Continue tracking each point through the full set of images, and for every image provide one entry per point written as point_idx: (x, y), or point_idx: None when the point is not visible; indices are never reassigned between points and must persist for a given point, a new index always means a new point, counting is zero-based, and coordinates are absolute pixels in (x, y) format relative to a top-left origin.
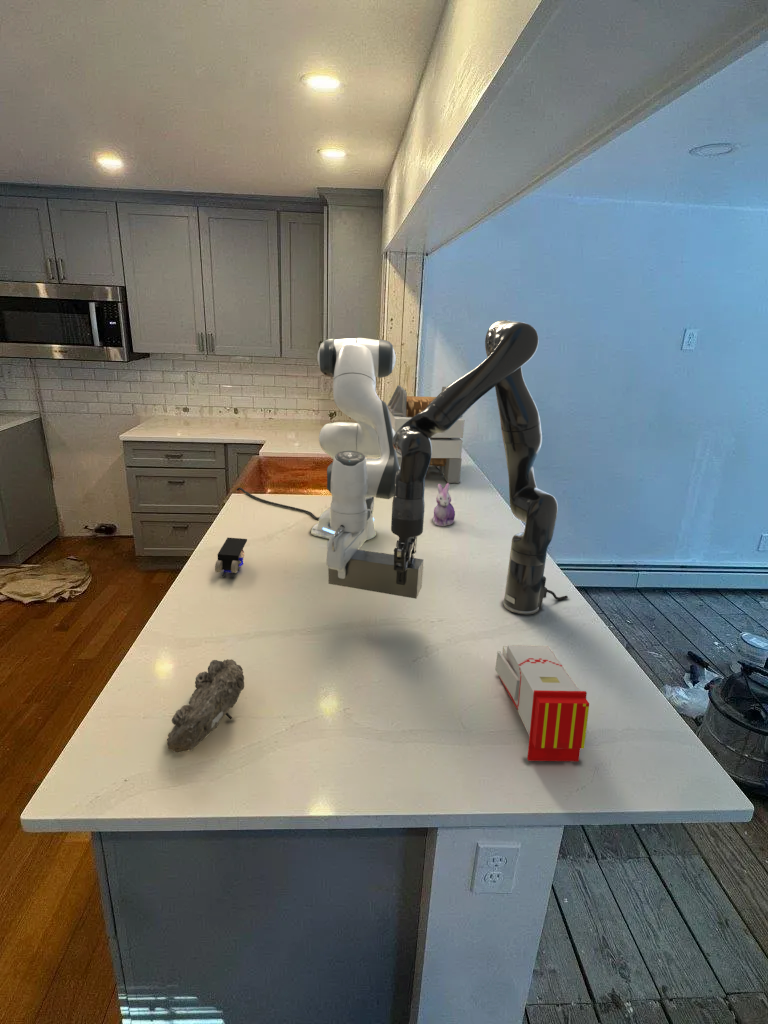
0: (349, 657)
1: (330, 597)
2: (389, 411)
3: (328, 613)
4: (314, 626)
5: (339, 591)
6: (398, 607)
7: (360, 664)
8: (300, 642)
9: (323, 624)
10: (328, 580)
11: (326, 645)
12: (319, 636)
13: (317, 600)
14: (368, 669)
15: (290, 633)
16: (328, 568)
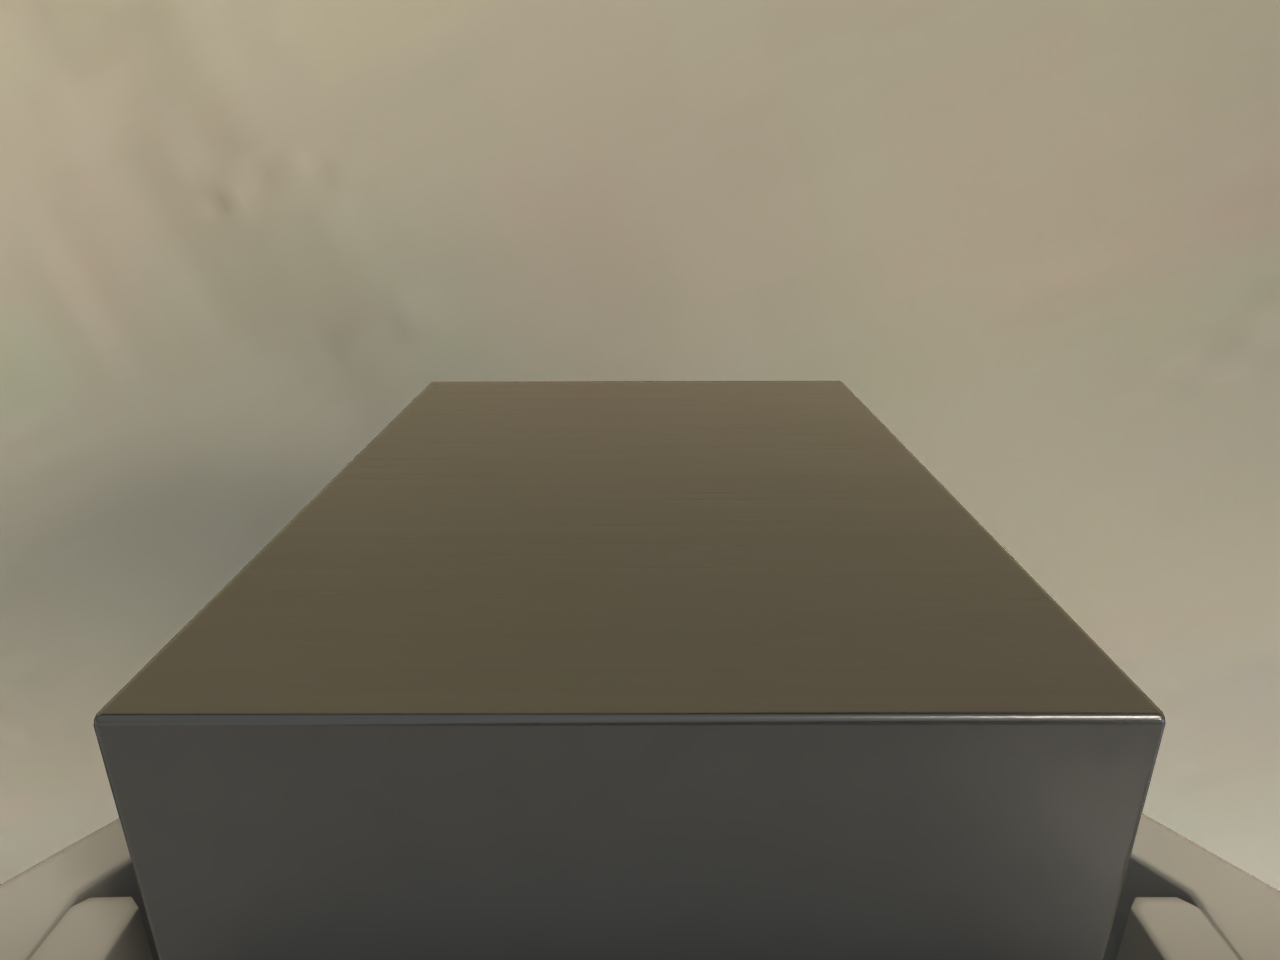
0: (66, 654)
1: (953, 146)
2: None
3: (615, 257)
4: (328, 218)
5: (1114, 194)
6: None
7: (36, 741)
8: (14, 203)
9: (401, 289)
10: (417, 399)
11: (107, 443)
12: (197, 333)
13: (847, 21)
14: (18, 798)
15: (90, 27)
16: (330, 484)
